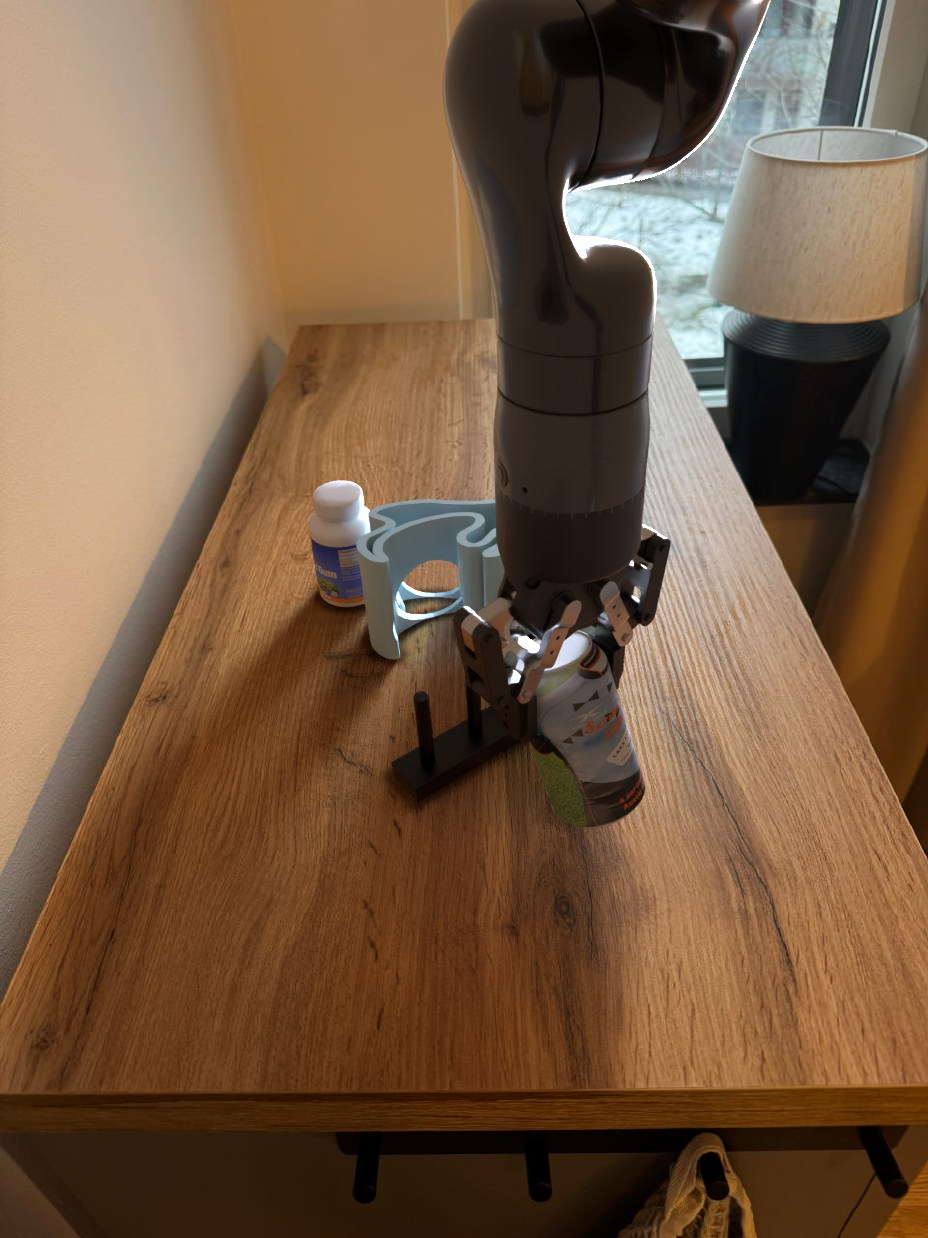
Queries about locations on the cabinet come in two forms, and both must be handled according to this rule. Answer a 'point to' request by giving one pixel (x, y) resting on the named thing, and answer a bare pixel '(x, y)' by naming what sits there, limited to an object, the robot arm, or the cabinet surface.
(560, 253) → the robot arm
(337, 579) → the pill bottle
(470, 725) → the rack
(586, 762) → the beverage can
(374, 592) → the squiggly pen holder
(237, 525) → the cabinet surface
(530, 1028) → the cabinet surface
